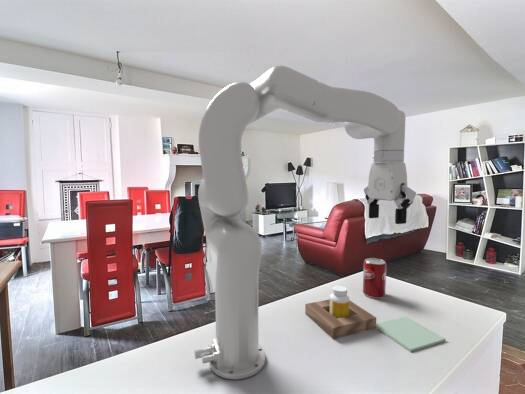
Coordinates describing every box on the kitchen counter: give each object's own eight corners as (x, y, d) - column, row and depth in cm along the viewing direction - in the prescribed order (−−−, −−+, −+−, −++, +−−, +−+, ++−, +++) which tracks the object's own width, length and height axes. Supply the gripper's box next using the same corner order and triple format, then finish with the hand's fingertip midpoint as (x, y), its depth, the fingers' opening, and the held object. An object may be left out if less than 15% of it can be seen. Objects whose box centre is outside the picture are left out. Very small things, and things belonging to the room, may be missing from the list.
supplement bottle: (325, 317, 83) (326, 285, 82) (341, 314, 84) (341, 283, 84) (336, 327, 78) (337, 293, 77) (352, 323, 79) (353, 290, 79)
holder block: (332, 339, 72) (333, 327, 72) (305, 313, 85) (305, 304, 85) (376, 328, 77) (376, 317, 77) (343, 305, 90) (343, 296, 90)
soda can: (366, 299, 95) (367, 264, 94) (360, 290, 102) (361, 257, 101) (388, 299, 94) (390, 264, 93) (380, 290, 102) (381, 258, 101)
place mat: (410, 351, 67) (410, 349, 67) (373, 326, 78) (373, 324, 78) (445, 340, 71) (445, 338, 71) (405, 318, 82) (405, 316, 82)
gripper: (355, 159, 83) (354, 216, 85) (404, 156, 67) (401, 227, 68) (376, 159, 86) (374, 215, 87) (427, 156, 70) (424, 225, 71)
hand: (386, 220), depth 78 cm, fingers open, 9 cm apart
